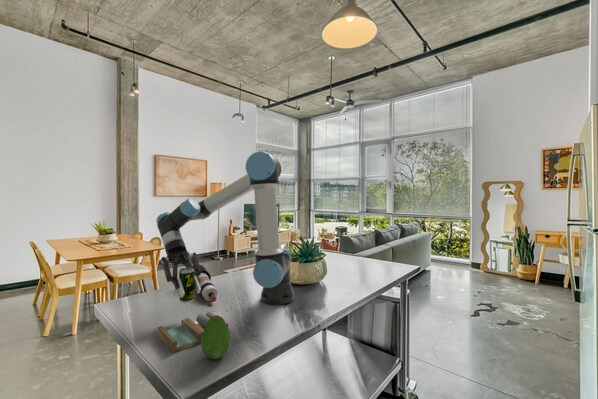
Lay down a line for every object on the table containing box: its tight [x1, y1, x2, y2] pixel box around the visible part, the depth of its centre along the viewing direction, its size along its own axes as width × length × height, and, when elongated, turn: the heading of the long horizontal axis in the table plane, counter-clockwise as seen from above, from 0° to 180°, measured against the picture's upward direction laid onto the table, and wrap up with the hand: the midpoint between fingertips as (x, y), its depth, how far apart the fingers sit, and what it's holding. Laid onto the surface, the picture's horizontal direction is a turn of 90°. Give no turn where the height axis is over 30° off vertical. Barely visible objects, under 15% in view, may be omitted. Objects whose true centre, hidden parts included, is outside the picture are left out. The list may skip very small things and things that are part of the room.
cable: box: [192, 264, 218, 303], centre depth 133 cm, size 10×34×10 cm, turn 33°
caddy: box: [157, 311, 229, 354], centre depth 92 cm, size 18×14×3 cm
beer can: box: [178, 267, 196, 304], centre depth 104 cm, size 5×5×12 cm
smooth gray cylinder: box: [195, 313, 210, 328], centre depth 95 cm, size 9×3×3 cm, turn 44°
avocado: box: [200, 314, 231, 360], centre depth 79 cm, size 8×8×12 cm
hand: (191, 293), depth 101 cm, fingers closed on beer can, 5 cm apart
